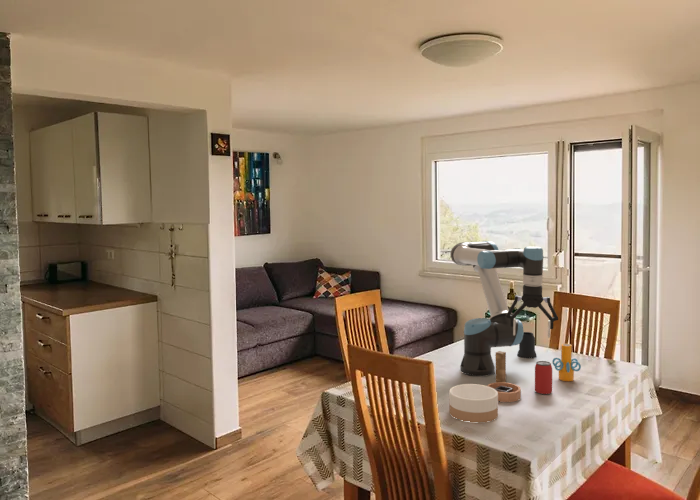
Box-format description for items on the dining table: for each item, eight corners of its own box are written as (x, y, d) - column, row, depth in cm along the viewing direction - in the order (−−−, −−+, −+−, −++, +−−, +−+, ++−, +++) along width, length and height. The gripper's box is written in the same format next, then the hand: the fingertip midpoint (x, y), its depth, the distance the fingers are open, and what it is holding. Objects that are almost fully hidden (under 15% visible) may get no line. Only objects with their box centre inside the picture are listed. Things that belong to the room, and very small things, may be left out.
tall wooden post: (495, 385, 230) (495, 352, 229) (499, 383, 232) (499, 350, 231) (502, 386, 228) (502, 353, 227) (505, 385, 230) (505, 352, 229)
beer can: (543, 396, 217) (544, 366, 216) (531, 391, 222) (531, 362, 221) (555, 393, 220) (556, 363, 219) (543, 388, 226) (543, 359, 224)
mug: (536, 359, 266) (536, 336, 265) (516, 357, 270) (516, 334, 269) (537, 352, 277) (537, 330, 276) (518, 351, 281) (518, 329, 280)
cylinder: (582, 384, 229) (582, 349, 227) (555, 383, 231) (556, 348, 230) (576, 375, 241) (576, 341, 239) (551, 374, 243) (551, 340, 242)
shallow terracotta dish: (481, 397, 217) (481, 388, 217) (496, 388, 226) (496, 380, 226) (511, 404, 209) (511, 395, 208) (526, 395, 218) (526, 386, 218)
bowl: (467, 426, 190) (467, 403, 189) (440, 410, 205) (440, 388, 205) (508, 418, 196) (508, 395, 196) (478, 402, 212) (478, 381, 211)
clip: (494, 395, 217) (494, 388, 217) (500, 391, 221) (500, 385, 221) (506, 398, 214) (506, 391, 214) (512, 394, 218) (512, 388, 217)
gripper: (500, 285, 226) (499, 335, 228) (566, 287, 218) (564, 340, 221) (501, 282, 233) (500, 331, 235) (564, 284, 225) (563, 335, 228)
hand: (531, 335), depth 228 cm, fingers open, 13 cm apart
